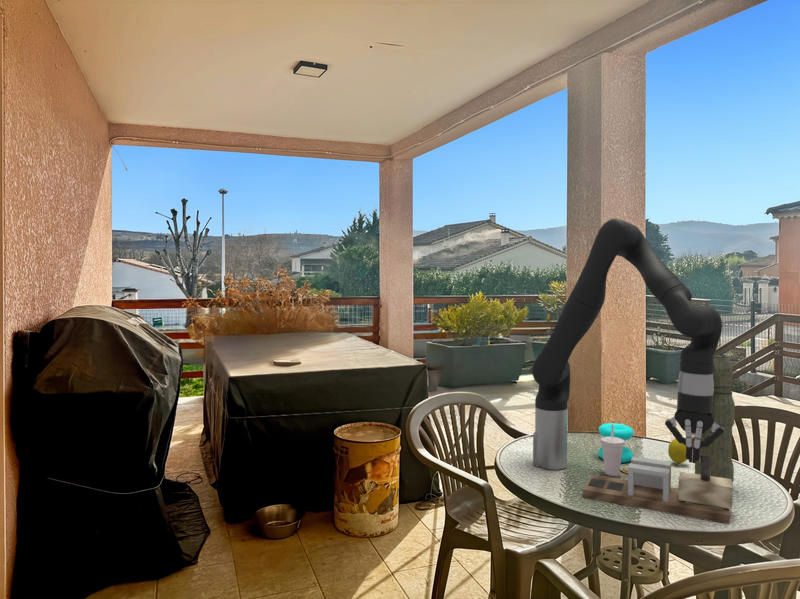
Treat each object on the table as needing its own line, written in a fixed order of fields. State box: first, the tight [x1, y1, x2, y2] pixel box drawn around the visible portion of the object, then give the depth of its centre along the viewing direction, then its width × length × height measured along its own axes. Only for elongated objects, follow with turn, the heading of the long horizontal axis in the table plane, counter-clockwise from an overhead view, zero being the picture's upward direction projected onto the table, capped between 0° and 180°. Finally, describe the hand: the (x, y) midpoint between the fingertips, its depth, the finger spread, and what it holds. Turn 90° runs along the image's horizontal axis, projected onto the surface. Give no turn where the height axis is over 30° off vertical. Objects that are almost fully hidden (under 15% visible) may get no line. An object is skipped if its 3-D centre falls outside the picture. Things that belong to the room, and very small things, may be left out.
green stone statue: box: [694, 353, 736, 484], centre depth 145 cm, size 9×12×35 cm
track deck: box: [582, 473, 731, 525], centre depth 137 cm, size 32×12×2 cm, turn 61°
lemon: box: [667, 438, 688, 465], centre depth 163 cm, size 6×6×8 cm
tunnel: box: [627, 456, 672, 502], centre depth 137 cm, size 9×9×7 cm
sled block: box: [678, 455, 734, 510], centre depth 131 cm, size 11×6×11 cm, turn 61°
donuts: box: [598, 422, 635, 464], centre depth 168 cm, size 10×10×10 cm
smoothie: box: [600, 424, 625, 477], centre depth 156 cm, size 6×6×14 cm
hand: (692, 461), depth 132 cm, fingers closed
